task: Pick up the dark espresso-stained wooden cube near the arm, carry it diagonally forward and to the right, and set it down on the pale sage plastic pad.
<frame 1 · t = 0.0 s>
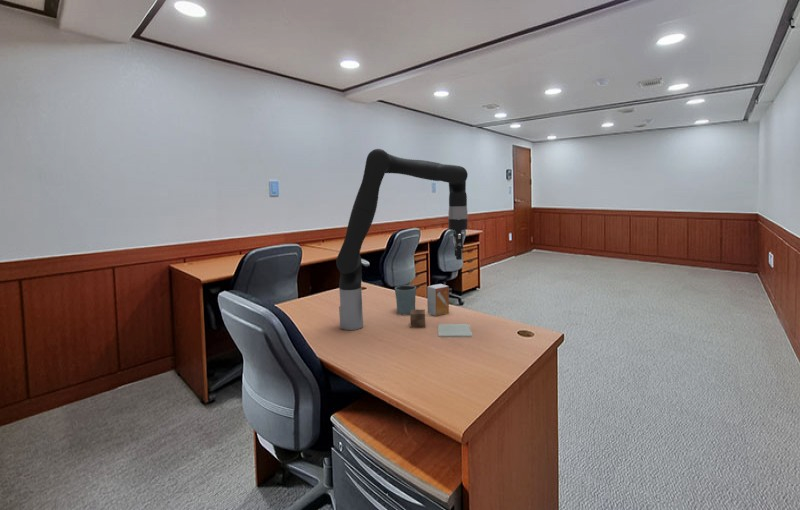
hand: (458, 257, 154), 29 cm above the table, fingers open, 8 cm apart
grey cup: (406, 312, 180), on the table
cube: (418, 325, 162), on the table
pad: (454, 330, 154), on the table
small box: (438, 313, 177), on the table
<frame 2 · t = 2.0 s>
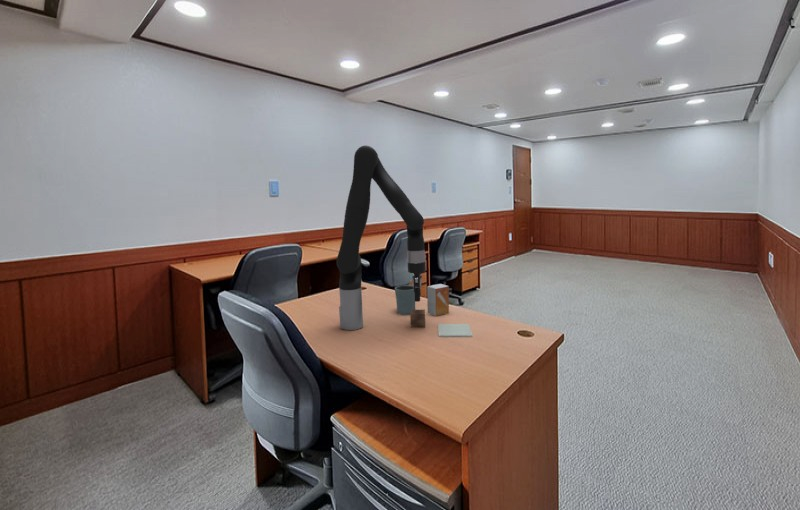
hand: (417, 298, 160), 12 cm above the table, fingers open, 8 cm apart
nothing on the table moved.
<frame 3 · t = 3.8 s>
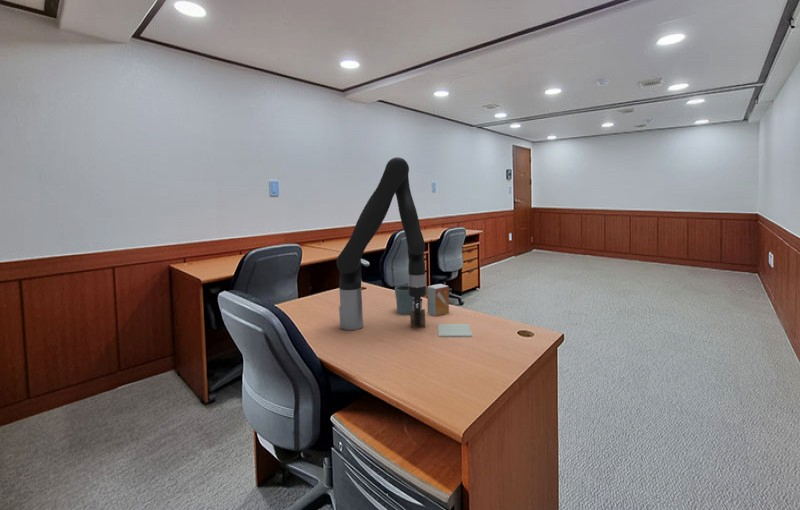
hand: (418, 322, 162), 1 cm above the table, fingers closed on cube, 6 cm apart
cube: (418, 325, 162), on the table, touching gripper
everything else where it was.
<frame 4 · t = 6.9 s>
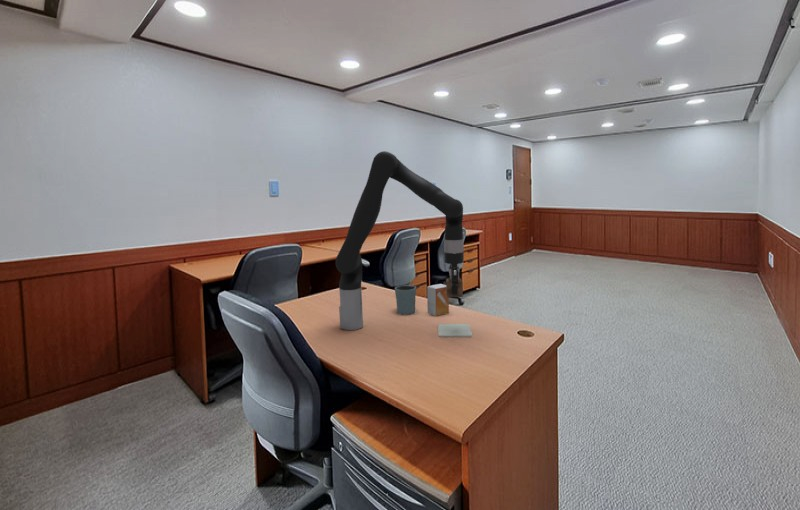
hand: (454, 292, 151), 16 cm above the table, fingers closed on cube, 6 cm apart
cube: (454, 295, 151), point 15 cm above the table, touching gripper
everything else where it was.
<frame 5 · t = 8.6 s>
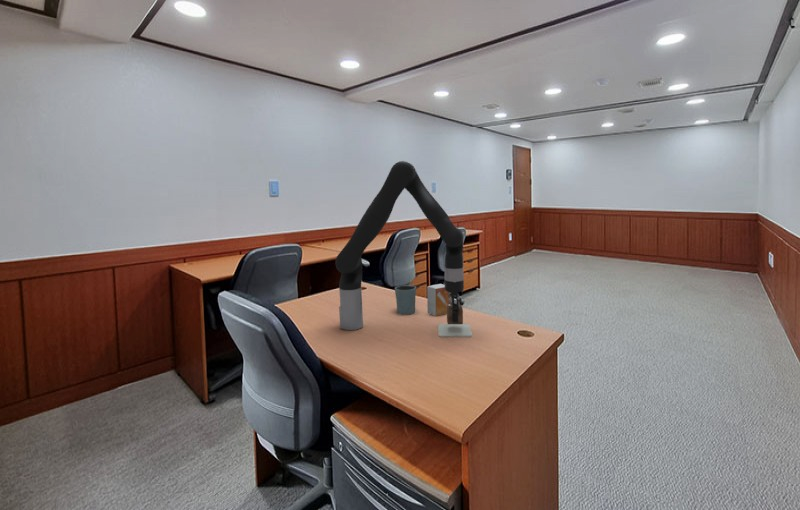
hand: (454, 319, 153), 5 cm above the table, fingers closed on cube, 6 cm apart
cube: (454, 321, 153), point 4 cm above the table, touching gripper
everything else where it was.
when the fingers open (3 cm above the table, at t = 10.1 s): cube stays where it is, resting on pad.
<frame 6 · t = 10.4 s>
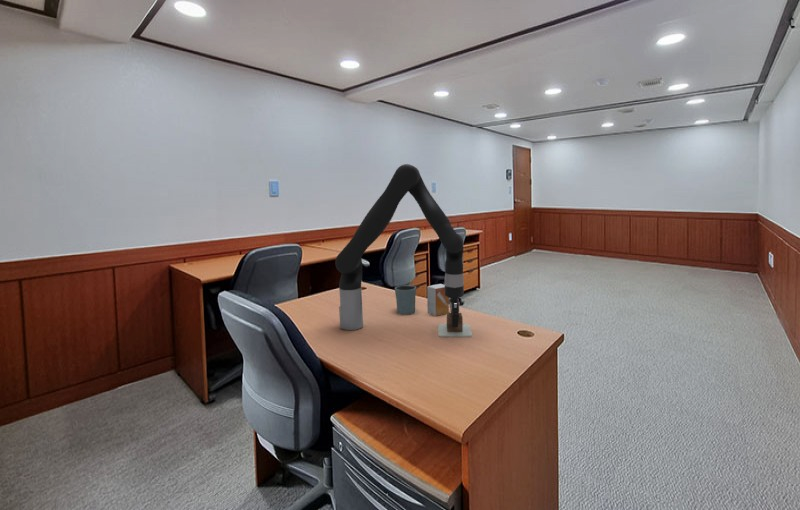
hand: (454, 323, 153), 3 cm above the table, fingers open, 8 cm apart
cube: (454, 329, 154), point 1 cm above the table, touching pad
everything else where it was.
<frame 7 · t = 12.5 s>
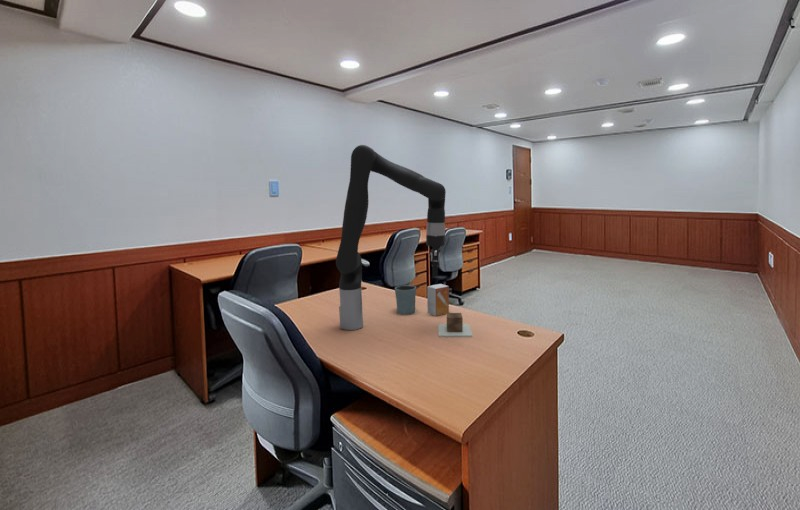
hand: (434, 273, 154), 23 cm above the table, fingers open, 8 cm apart
nothing on the table moved.
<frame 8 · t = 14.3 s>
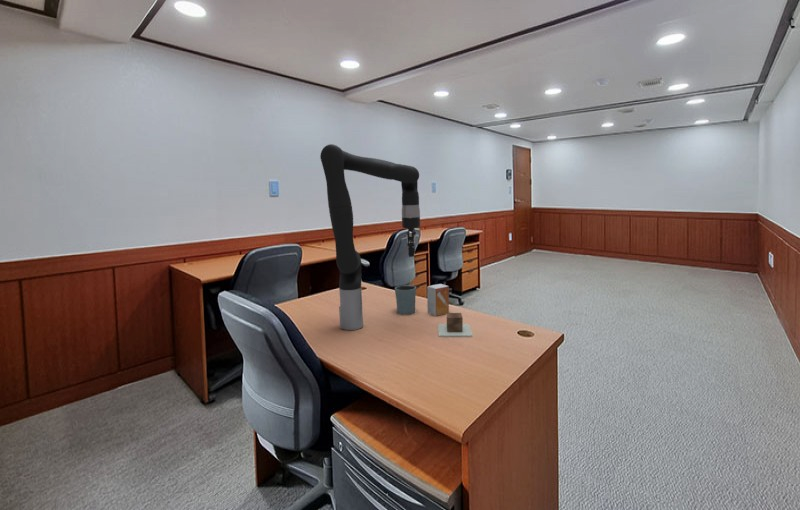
hand: (411, 254, 159), 30 cm above the table, fingers open, 8 cm apart
nothing on the table moved.
at the end: cube inside the target area on the pad (0.1 cm from its centre), point 0.6 cm above the pad's base; cube tilted 0°; the gripper is holding nothing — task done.
